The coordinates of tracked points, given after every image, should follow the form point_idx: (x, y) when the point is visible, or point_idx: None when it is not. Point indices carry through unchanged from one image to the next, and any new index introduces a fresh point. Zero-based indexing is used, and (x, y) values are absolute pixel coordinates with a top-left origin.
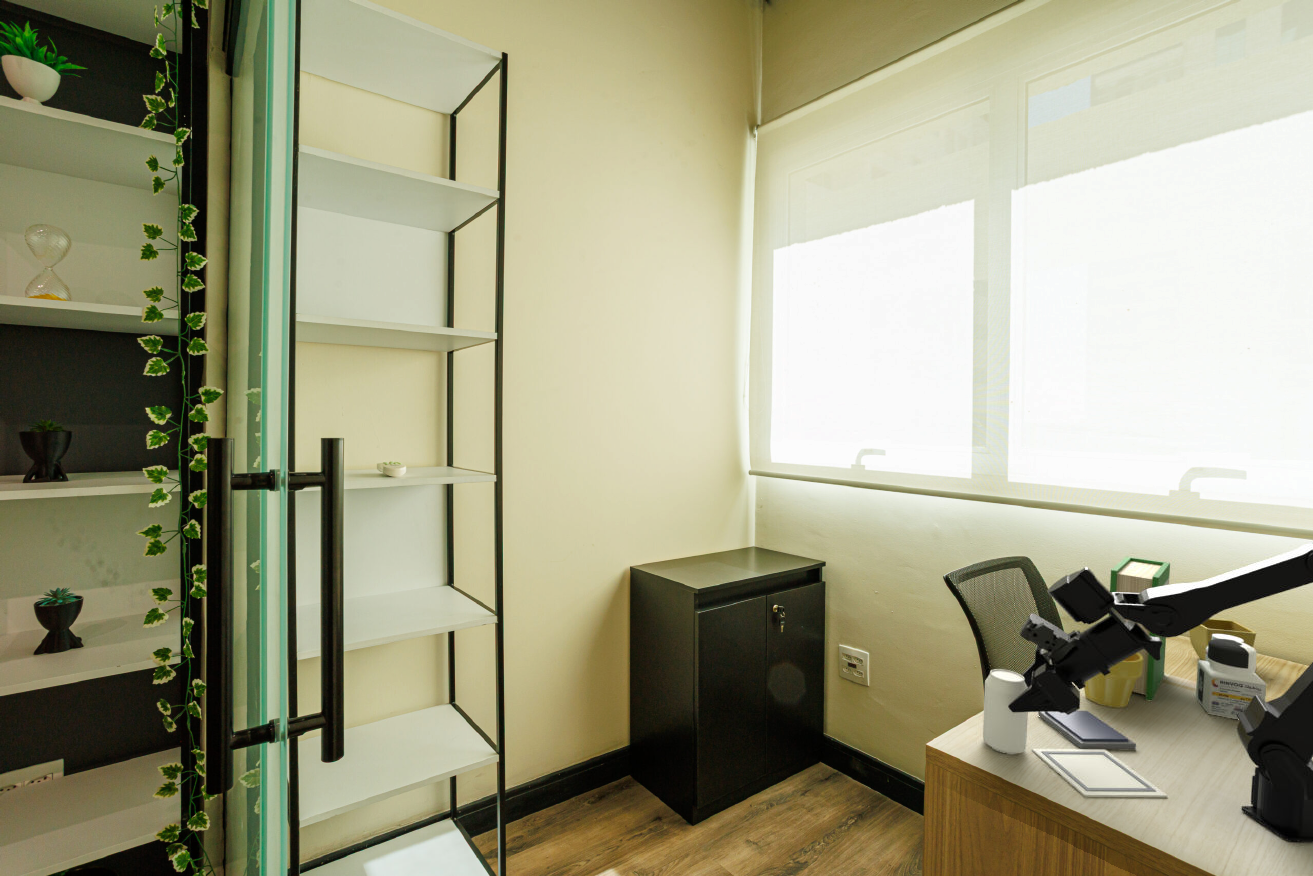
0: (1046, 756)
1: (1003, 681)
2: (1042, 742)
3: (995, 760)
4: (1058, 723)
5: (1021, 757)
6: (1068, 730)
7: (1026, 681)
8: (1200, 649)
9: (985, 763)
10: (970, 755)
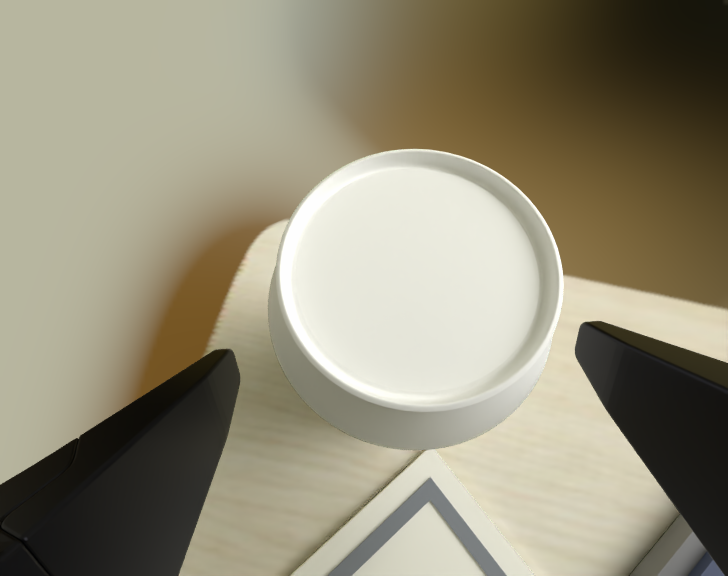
0: (407, 499)
1: (281, 260)
2: (527, 470)
3: None
4: None
5: None
6: (688, 571)
7: (647, 402)
8: None
9: (251, 334)
10: None
